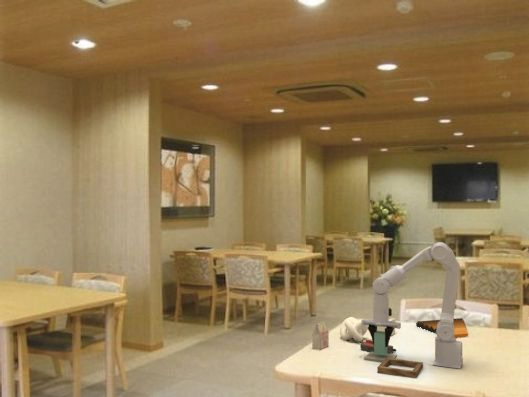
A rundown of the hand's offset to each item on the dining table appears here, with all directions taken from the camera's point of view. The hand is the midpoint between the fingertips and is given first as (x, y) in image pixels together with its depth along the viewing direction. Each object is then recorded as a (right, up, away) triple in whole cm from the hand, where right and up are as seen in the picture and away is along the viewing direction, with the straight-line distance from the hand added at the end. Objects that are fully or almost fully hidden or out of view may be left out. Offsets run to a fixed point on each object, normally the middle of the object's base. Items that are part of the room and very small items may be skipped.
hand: (380, 345), depth 209 cm
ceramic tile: (0, -5, 0) cm, 5 cm away
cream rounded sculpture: (-5, -5, +29) cm, 30 cm away
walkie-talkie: (-1, -6, +13) cm, 14 cm away
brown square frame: (+4, -5, -15) cm, 16 cm away
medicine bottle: (+10, -5, +39) cm, 40 cm away
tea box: (-21, -5, +15) cm, 27 cm away
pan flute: (+44, -6, +48) cm, 65 cm away
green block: (0, -3, 0) cm, 3 cm away
